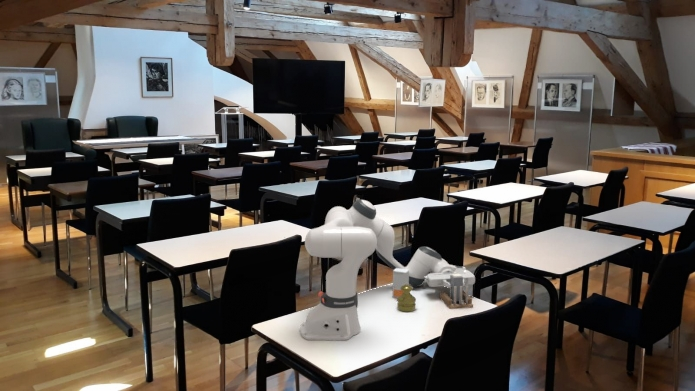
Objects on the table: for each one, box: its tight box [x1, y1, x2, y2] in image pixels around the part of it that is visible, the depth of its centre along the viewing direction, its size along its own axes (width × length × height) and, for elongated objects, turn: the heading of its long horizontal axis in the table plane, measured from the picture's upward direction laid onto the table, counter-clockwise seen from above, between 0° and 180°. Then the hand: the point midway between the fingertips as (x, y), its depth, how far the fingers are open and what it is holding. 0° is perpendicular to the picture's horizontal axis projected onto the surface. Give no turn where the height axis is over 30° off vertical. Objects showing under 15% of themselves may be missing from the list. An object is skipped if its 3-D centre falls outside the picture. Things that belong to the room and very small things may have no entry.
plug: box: [449, 273, 464, 302], centre depth 235 cm, size 4×4×11 cm
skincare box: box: [391, 268, 409, 298], centre depth 242 cm, size 6×4×12 cm
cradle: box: [439, 285, 474, 310], centre depth 235 cm, size 10×12×9 cm
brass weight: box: [396, 285, 417, 313], centre depth 229 cm, size 7×7×10 cm
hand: (456, 285), depth 234 cm, fingers closed on plug, 4 cm apart
